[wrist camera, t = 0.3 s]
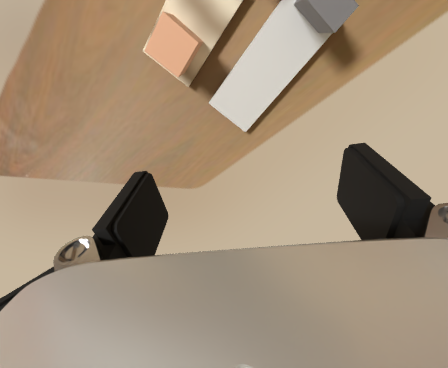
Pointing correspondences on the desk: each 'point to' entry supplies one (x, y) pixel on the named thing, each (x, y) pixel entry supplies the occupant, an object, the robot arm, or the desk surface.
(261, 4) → the desk surface
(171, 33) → the cube
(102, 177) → the desk surface
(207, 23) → the cube strip
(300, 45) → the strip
